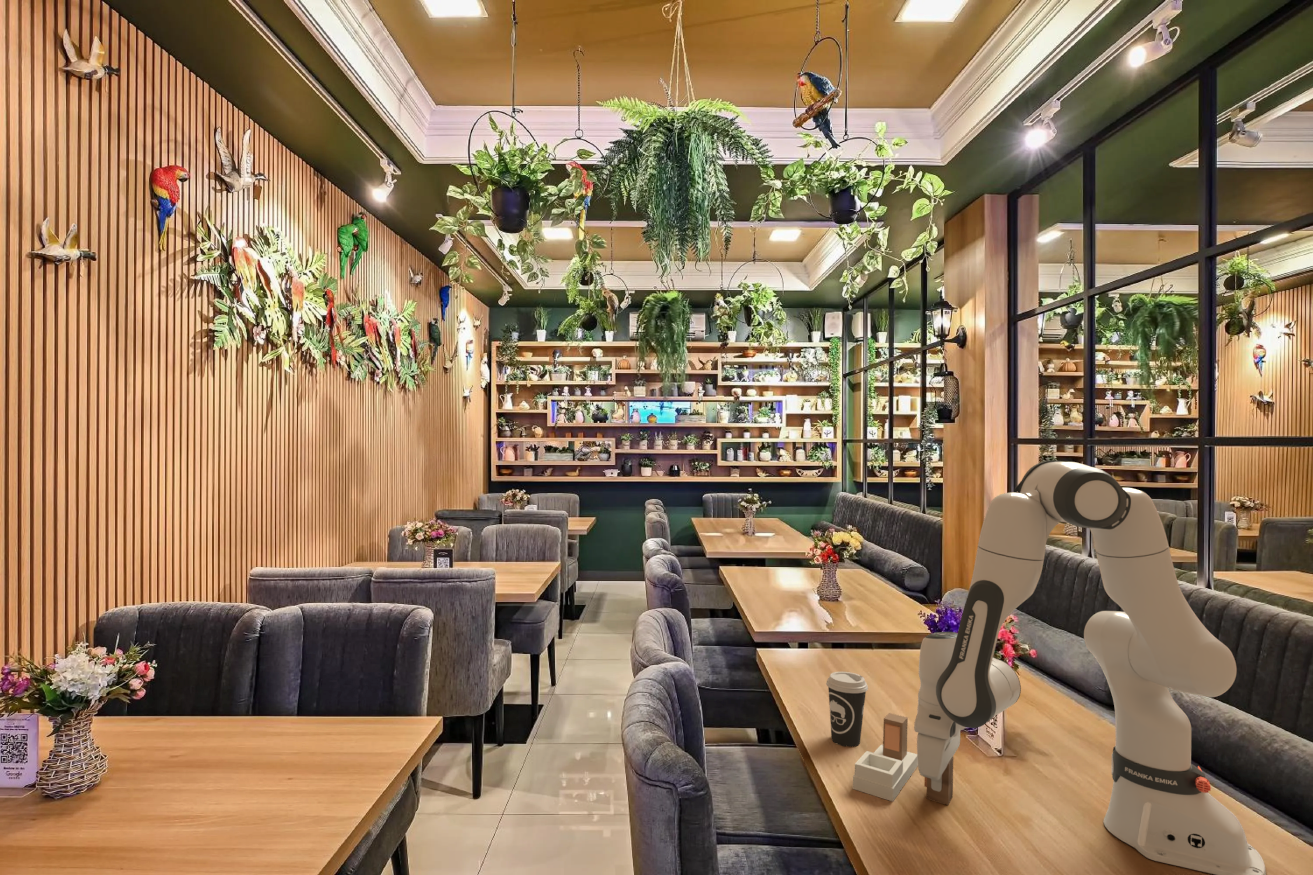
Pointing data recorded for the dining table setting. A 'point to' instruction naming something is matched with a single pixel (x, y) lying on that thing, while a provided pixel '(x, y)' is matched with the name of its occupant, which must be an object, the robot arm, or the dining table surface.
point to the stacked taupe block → (946, 790)
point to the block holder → (886, 762)
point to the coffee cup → (846, 707)
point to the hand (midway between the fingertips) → (940, 783)
